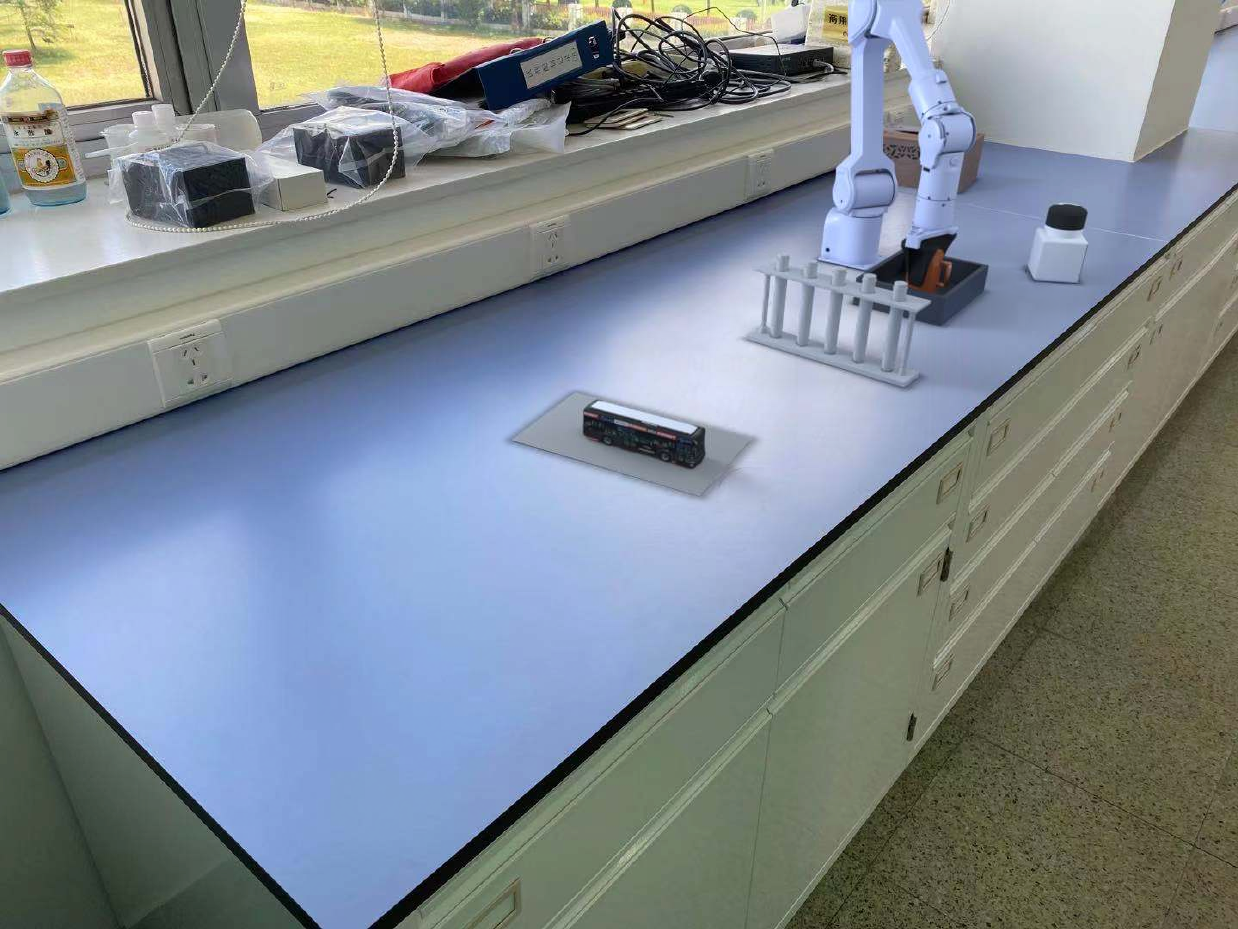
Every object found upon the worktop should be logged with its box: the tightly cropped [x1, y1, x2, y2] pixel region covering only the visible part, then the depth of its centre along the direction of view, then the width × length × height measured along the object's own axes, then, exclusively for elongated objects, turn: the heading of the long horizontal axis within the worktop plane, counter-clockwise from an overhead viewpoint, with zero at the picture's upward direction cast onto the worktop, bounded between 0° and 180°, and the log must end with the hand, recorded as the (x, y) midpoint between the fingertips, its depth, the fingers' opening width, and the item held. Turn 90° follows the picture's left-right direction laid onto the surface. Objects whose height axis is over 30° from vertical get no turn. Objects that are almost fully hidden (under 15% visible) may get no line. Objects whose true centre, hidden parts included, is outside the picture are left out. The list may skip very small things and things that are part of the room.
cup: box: [905, 249, 952, 294], centre depth 153 cm, size 7×5×7 cm
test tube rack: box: [746, 251, 931, 388], centre depth 133 cm, size 25×4×13 cm, turn 50°
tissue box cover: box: [848, 121, 986, 195], centre depth 217 cm, size 26×14×10 cm, turn 58°
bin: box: [852, 248, 990, 327], centre depth 155 cm, size 15×19×4 cm
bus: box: [511, 392, 751, 497], centre depth 115 cm, size 14×25×4 cm, turn 60°
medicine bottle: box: [1027, 202, 1089, 284], centre depth 162 cm, size 7×7×12 cm
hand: (921, 280), depth 154 cm, fingers closed on cup, 5 cm apart
